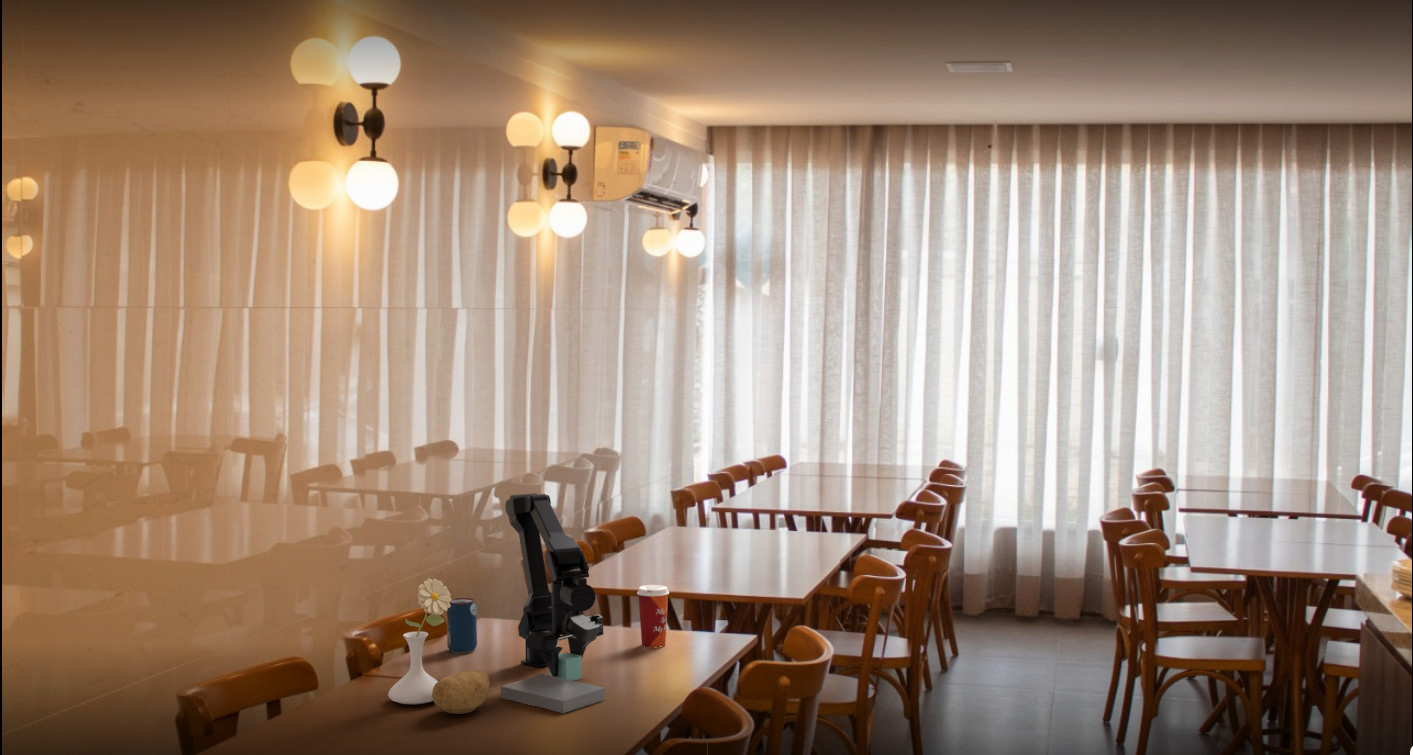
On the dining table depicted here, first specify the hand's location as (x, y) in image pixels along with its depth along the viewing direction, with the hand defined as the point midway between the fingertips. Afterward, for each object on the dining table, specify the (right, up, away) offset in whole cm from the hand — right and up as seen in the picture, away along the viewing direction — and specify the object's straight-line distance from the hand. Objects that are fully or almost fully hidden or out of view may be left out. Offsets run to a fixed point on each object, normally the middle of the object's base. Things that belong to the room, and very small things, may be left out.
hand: (565, 673), depth 287 cm
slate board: (-1, -2, -16) cm, 16 cm away
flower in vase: (-28, -2, -16) cm, 32 cm away
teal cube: (0, -1, 0) cm, 1 cm away
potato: (-18, -2, -24) cm, 30 cm away
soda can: (-27, 0, +25) cm, 37 cm away
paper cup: (+18, 0, +29) cm, 34 cm away
